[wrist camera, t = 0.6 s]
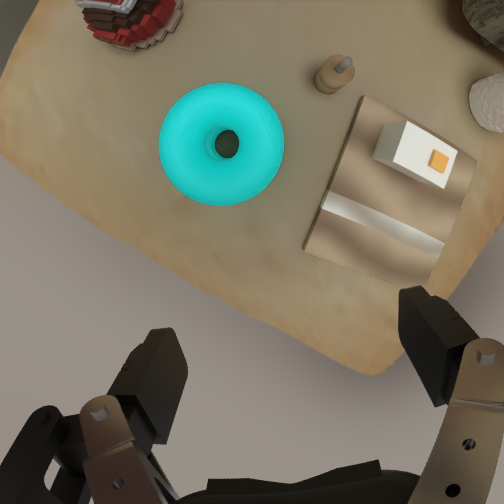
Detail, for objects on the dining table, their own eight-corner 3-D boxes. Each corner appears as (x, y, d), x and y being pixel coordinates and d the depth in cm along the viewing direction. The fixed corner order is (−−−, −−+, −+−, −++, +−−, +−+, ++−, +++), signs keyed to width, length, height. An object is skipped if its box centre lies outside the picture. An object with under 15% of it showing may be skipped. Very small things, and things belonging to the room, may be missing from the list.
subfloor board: (361, 96, 30) (364, 95, 28) (471, 159, 31) (477, 160, 29) (302, 247, 35) (304, 251, 34) (416, 290, 36) (419, 294, 35)
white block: (384, 123, 29) (410, 120, 23) (429, 148, 30) (460, 151, 23) (371, 157, 30) (395, 161, 24) (417, 180, 31) (447, 190, 25)
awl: (318, 65, 29) (335, 40, 20) (343, 75, 29) (368, 54, 20) (310, 88, 30) (325, 68, 21) (335, 98, 30) (358, 82, 21)
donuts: (135, 113, 22) (255, 60, 20) (171, 120, 31) (259, 84, 30) (183, 228, 25) (304, 182, 23) (206, 204, 34) (293, 171, 33)
